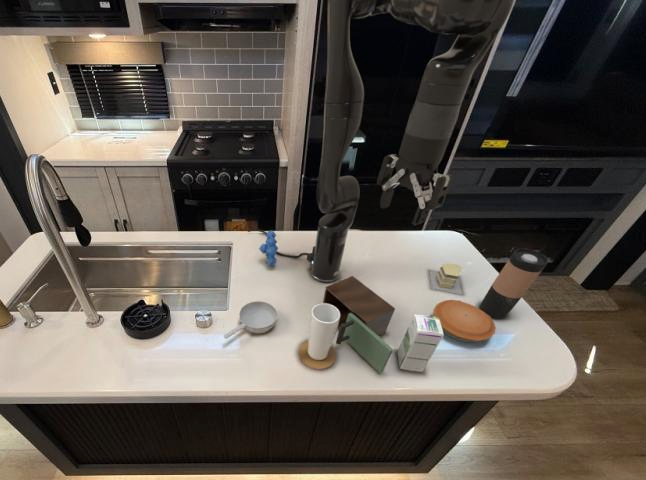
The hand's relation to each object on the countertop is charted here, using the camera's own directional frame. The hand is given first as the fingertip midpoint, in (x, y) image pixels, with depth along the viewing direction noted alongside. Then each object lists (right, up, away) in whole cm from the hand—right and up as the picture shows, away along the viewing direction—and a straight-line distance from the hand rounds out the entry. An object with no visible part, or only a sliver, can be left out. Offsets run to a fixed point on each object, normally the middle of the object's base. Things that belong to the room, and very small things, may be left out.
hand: (399, 215), depth 66 cm
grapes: (-26, -4, +48) cm, 55 cm away
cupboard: (-2, -25, +25) cm, 35 cm away
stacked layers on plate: (+33, -12, +39) cm, 53 cm away
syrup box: (+9, -34, +15) cm, 38 cm away
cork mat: (-14, -32, +17) cm, 39 cm away
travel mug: (+41, -21, +29) cm, 55 cm away
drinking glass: (-14, -32, +17) cm, 39 cm away
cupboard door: (-4, -33, +16) cm, 36 cm away
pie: (+28, -26, +24) cm, 45 cm away
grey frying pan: (-32, -26, +24) cm, 48 cm away
